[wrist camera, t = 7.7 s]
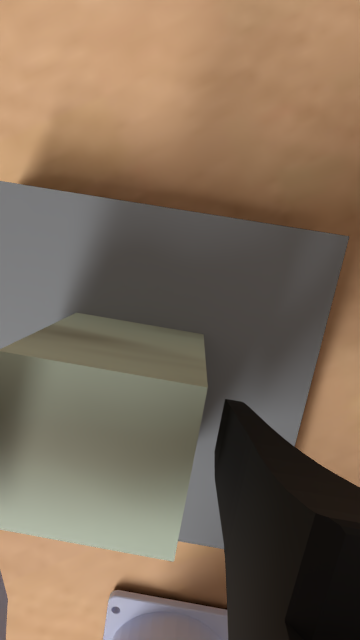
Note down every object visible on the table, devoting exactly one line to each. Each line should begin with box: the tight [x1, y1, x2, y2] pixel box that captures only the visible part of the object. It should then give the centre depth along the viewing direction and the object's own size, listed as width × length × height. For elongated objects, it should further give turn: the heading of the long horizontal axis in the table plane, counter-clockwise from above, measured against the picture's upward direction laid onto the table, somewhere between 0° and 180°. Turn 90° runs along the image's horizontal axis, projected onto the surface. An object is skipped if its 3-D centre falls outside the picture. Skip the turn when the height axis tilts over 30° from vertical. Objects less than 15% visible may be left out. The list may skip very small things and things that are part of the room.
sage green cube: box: [0, 313, 208, 562], centre depth 10 cm, size 5×5×5 cm
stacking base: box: [0, 181, 349, 549], centre depth 14 cm, size 14×14×3 cm
